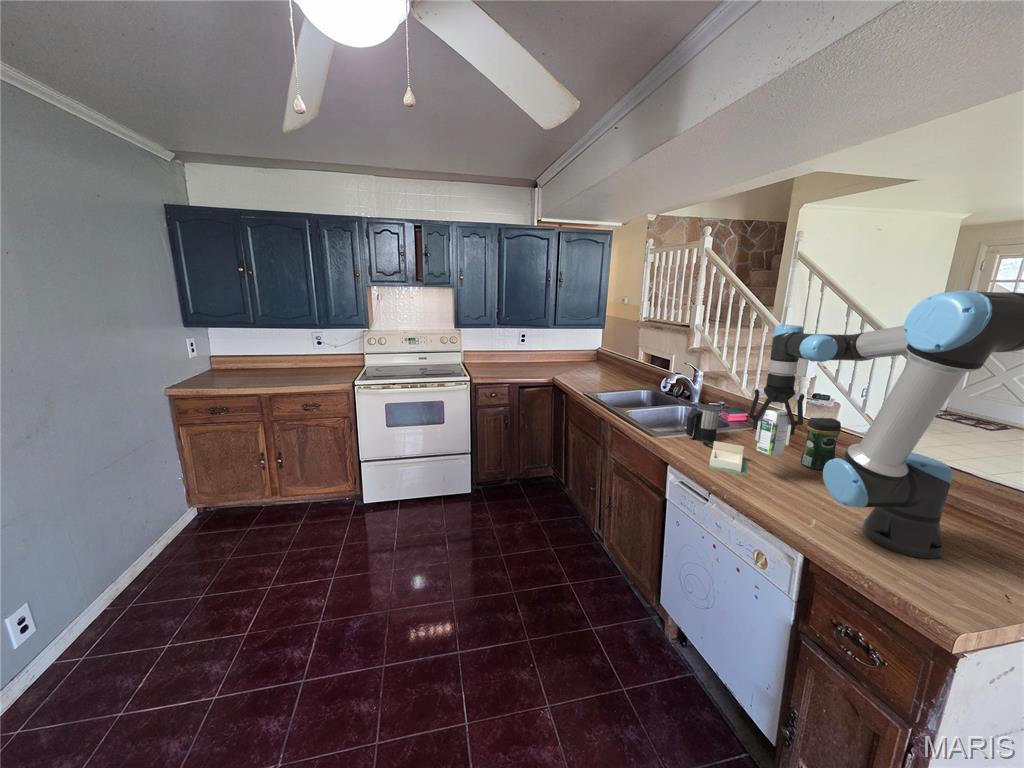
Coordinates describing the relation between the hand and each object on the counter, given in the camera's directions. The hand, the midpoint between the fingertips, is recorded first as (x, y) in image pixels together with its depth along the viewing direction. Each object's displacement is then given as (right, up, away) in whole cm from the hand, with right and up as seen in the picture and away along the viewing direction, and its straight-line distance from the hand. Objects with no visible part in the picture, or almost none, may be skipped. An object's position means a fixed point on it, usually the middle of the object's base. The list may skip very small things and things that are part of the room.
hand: (771, 441), depth 136 cm
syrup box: (0, -4, +1) cm, 4 cm away
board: (-6, -11, +15) cm, 20 cm away
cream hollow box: (-8, -10, +14) cm, 19 cm away
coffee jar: (+26, -12, +16) cm, 33 cm away
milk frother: (-3, -6, +37) cm, 38 cm away
